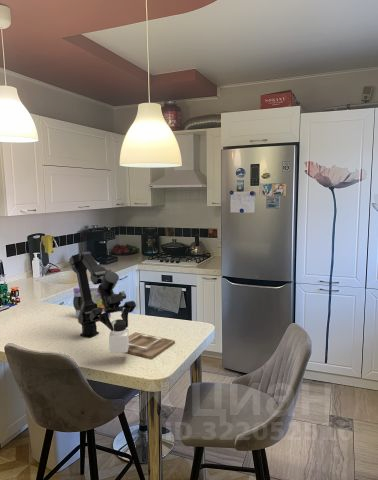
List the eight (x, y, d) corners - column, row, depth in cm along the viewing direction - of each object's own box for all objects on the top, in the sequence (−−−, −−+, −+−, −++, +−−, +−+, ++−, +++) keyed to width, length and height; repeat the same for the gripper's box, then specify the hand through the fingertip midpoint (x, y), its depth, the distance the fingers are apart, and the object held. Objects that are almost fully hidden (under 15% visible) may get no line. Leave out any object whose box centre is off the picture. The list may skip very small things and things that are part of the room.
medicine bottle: (129, 345, 159) (128, 317, 157) (127, 352, 152) (126, 323, 150) (111, 345, 159) (110, 318, 157) (109, 353, 151) (108, 324, 150)
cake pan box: (73, 318, 205) (71, 286, 203) (77, 315, 210) (75, 284, 208) (107, 319, 202) (106, 287, 200) (111, 316, 207) (109, 285, 205)
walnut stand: (110, 348, 166) (109, 343, 165) (135, 334, 181) (135, 329, 181) (151, 359, 155) (151, 353, 154) (174, 343, 170) (174, 338, 170)
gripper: (90, 289, 149) (103, 324, 142) (133, 281, 160) (147, 314, 153) (84, 303, 157) (96, 337, 150) (125, 295, 168) (138, 327, 160)
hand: (120, 328), depth 153 cm, fingers closed on medicine bottle, 6 cm apart
